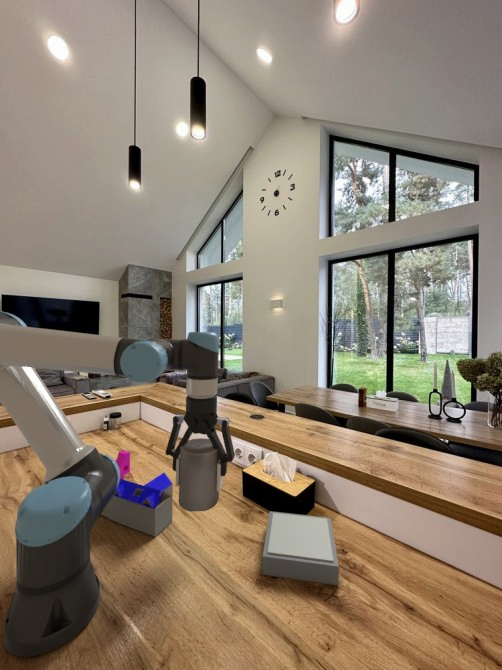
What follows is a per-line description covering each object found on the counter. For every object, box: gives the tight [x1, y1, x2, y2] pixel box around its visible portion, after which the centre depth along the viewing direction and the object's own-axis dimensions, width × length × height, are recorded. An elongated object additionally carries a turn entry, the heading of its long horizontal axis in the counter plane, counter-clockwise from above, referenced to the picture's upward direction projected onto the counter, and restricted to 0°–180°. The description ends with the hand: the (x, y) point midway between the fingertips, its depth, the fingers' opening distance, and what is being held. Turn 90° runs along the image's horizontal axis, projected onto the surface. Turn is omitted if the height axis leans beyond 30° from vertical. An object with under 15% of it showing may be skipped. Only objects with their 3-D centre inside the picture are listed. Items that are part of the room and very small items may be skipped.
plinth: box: [261, 511, 340, 586], centre depth 70 cm, size 16×16×4 cm
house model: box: [100, 472, 174, 538], centre depth 86 cm, size 25×15×10 cm, turn 66°
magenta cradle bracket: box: [115, 450, 131, 480], centre depth 102 cm, size 15×6×8 cm, turn 153°
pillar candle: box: [178, 437, 220, 512], centre depth 71 cm, size 10×10×15 cm
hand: (199, 485), depth 71 cm, fingers closed on pillar candle, 10 cm apart
